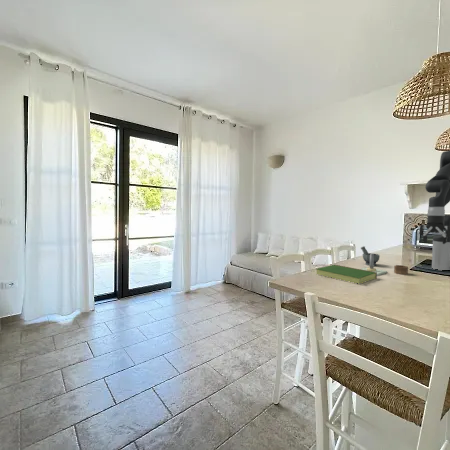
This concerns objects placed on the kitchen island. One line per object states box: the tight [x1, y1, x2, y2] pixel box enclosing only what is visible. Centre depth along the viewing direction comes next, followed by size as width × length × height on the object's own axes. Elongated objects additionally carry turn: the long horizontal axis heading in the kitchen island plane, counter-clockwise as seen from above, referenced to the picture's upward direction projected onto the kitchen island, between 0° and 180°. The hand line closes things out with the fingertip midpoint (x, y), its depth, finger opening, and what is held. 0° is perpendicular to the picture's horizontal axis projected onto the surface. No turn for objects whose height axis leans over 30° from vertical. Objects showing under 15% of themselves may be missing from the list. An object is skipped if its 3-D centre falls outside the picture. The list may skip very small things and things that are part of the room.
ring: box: [393, 264, 409, 276], centre depth 144 cm, size 6×6×4 cm
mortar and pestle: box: [360, 245, 381, 267], centre depth 167 cm, size 11×9×12 cm
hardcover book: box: [316, 264, 378, 285], centre depth 139 cm, size 25×19×4 cm
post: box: [360, 253, 388, 277], centre depth 147 cm, size 12×12×11 cm
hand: (434, 243), depth 144 cm, fingers open, 8 cm apart
